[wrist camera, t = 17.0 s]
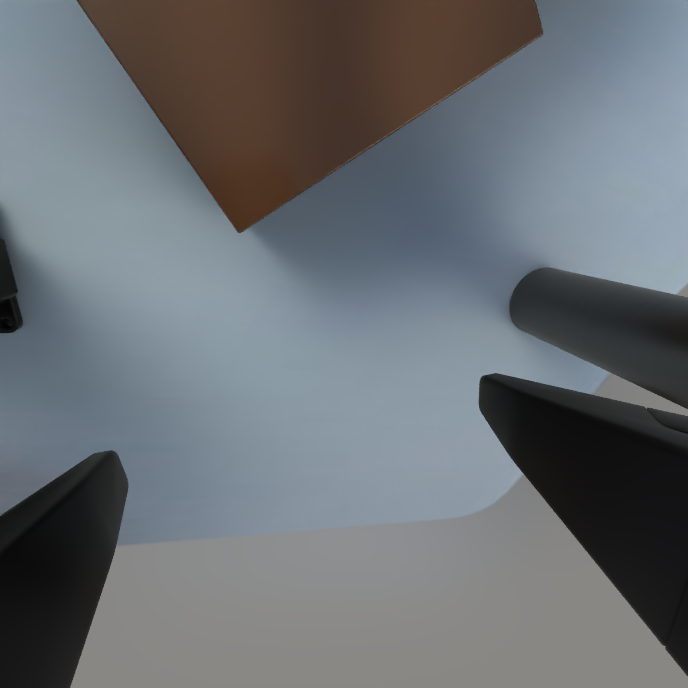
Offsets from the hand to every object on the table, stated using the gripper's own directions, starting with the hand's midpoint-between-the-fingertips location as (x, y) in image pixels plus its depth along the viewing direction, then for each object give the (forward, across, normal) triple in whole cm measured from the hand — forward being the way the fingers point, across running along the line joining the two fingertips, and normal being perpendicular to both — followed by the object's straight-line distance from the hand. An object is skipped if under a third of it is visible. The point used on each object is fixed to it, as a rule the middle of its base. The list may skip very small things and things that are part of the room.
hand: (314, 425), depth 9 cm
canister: (+13, -17, +3) cm, 21 cm away
